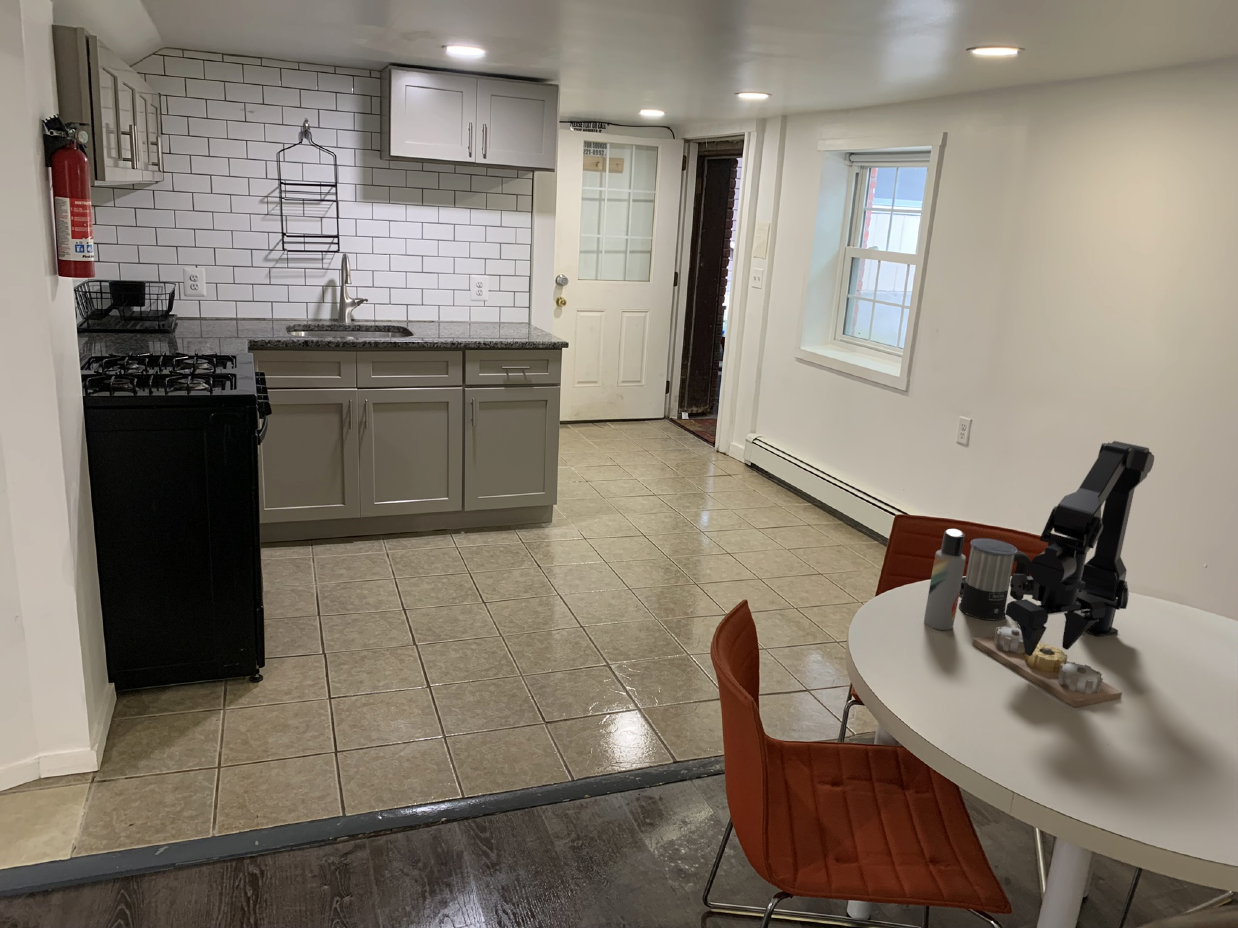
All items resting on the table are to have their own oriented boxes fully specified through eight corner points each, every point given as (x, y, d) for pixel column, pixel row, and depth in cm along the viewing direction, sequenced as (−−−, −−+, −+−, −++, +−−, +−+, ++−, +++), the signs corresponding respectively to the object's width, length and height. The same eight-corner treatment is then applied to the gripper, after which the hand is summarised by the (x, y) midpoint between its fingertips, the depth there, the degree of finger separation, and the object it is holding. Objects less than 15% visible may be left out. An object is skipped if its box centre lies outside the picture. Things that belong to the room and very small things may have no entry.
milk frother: (985, 624, 187) (998, 556, 183) (924, 594, 200) (935, 530, 196) (1028, 612, 195) (1042, 547, 191) (967, 584, 208) (978, 522, 204)
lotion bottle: (954, 622, 187) (971, 530, 182) (951, 633, 182) (969, 538, 177) (925, 615, 189) (941, 524, 184) (921, 626, 184) (938, 532, 179)
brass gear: (1043, 653, 174) (1045, 641, 173) (1072, 670, 168) (1075, 657, 167) (1016, 657, 171) (1018, 645, 170) (1045, 675, 165) (1048, 662, 164)
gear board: (972, 644, 178) (976, 624, 177) (1015, 637, 182) (1019, 618, 181) (1074, 707, 157) (1080, 685, 156) (1120, 698, 161) (1125, 676, 160)
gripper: (1065, 551, 175) (1049, 626, 179) (990, 560, 168) (975, 638, 172) (1116, 574, 165) (1097, 653, 169) (1039, 584, 158) (1021, 666, 162)
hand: (1046, 651), depth 168 cm, fingers open, 9 cm apart
